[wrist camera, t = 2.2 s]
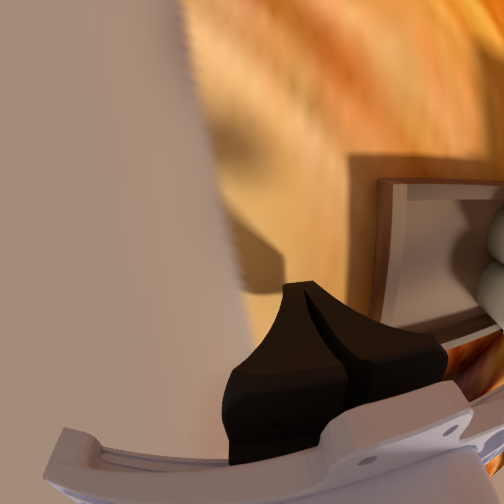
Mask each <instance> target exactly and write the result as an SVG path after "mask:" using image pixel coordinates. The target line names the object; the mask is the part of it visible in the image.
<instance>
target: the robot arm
mask: <svg viewBox="0 0 504 504" xmlns="http://www.w3.org/2000/svg"><path fill="white" fill-rule="evenodd" d="M282 287H283V298H282V302H281V305H280V309H279V311H278V314H277V316H276V319H275V321H274V323H273V325H272V327H271V329H270V330H269V332H268V334H267V335H266V337H265V338H264V340H263V341H262V342H261V344H260V345H259V346H258V347H257V348H256V349H255V350H254V352H253V353H252V354H251V355H250V356H249V357H248V358H247V359H246V360H245V361H243V362H242V363H241V364H240V365H238V366H237V367H236V368H234V369H233V371H232V372H231V375H230V377H229V380H228V383H227V385H226V389H225V392H224V396H223V402H222V422H223V425H224V428H225V431H226V433H227V437H228V440H229V459H195V458H179V457H167V456H158V455H149V454H141V453H135V452H128V451H123V450H118V449H113V448H108V447H103V446H102V445H101V444H100V442H99V441H98V440H97V439H96V438H95V437H94V436H92V435H90V434H88V433H86V432H82V431H78V430H74V429H70V428H65V427H64V428H63V430H62V432H61V434H60V436H59V439H58V441H57V443H56V445H55V448H54V450H53V452H52V455H51V457H50V459H49V462H48V465H47V467H46V469H45V472H44V475H43V479H44V480H45V481H46V482H48V483H49V484H50V485H52V486H53V487H55V488H56V489H57V490H59V491H60V492H61V493H63V494H64V495H66V496H67V497H69V498H70V499H72V500H73V501H75V502H76V503H78V504H501V502H500V500H499V498H498V495H497V493H496V491H495V488H494V486H493V484H492V482H491V480H490V477H489V475H488V473H487V471H486V469H485V467H484V465H485V464H487V463H488V462H490V461H491V460H492V459H494V458H495V457H496V456H498V455H499V454H500V453H502V452H503V451H504V384H503V385H501V386H499V387H498V388H496V389H494V390H492V391H491V392H489V393H487V394H485V395H483V396H481V397H479V398H478V399H476V400H474V401H472V402H470V403H468V401H467V400H466V398H465V396H464V395H463V393H462V392H461V390H460V389H459V387H458V386H457V385H456V384H455V383H454V382H453V381H444V382H441V380H442V377H443V375H444V373H445V371H446V368H447V364H448V355H447V352H446V351H445V349H444V348H443V347H442V345H441V344H440V343H439V342H438V340H437V339H436V338H435V337H434V336H433V335H428V334H421V333H415V332H410V331H405V330H402V329H398V328H394V327H391V326H388V325H385V324H382V323H380V322H377V321H375V320H372V319H370V318H368V317H366V316H364V315H362V314H360V313H358V312H356V311H354V310H353V309H351V308H349V307H348V306H346V305H345V304H343V303H342V302H340V301H339V300H337V299H336V298H334V297H333V296H332V295H330V294H329V293H328V292H326V291H325V290H324V289H323V288H321V287H320V286H319V285H318V284H316V283H315V282H314V281H305V282H296V283H286V284H284V285H283V286H282Z"/></svg>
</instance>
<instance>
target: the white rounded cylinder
mask: <svg viewBox="0 0 504 504" xmlns="http://www.w3.org/2000/svg"><path fill="white" fill-rule="evenodd" d="M476 302H477V304H478V305H479V306H480V307H481V308H482V309H483V310H484V311H485V312H486V313H487V314H488V315H489V316H490V317H491V318H492V319H493V320H494V321H495V322H496V323H497V324H498V325H499V326H500V327H501V328H502V329H503V330H504V265H503V264H502V263H500V262H499V261H497V260H495V261H493V262H492V263H491V264H490V265H489V266H488V267H487V268H486V270H485V271H484V273H483V274H482V276H481V278H480V280H479V283H478V285H477V289H476Z"/></svg>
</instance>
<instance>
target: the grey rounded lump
mask: <svg viewBox="0 0 504 504" xmlns="http://www.w3.org/2000/svg"><path fill="white" fill-rule="evenodd" d="M488 250H489V253H490V255H491V256H492V257H493V258H494V259H496V260H497V261H499V262H500V263H502V264H503V265H504V206H502V207H501V208H500V209H499V210H498V211H497V213H496V214H495V216H494V218H493V220H492V223H491V226H490V229H489V234H488Z"/></svg>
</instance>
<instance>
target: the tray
mask: <svg viewBox="0 0 504 504" xmlns="http://www.w3.org/2000/svg"><path fill="white" fill-rule="evenodd" d="M502 206H504V182H499V181H485V180H466V179H435V178H382V179H377V227H376V246H375V260H374V272H373V282H372V291H371V300H370V307H369V315H368V318H370V319H372V320H375V321H377V322H380V323H382V324H385V325H388V326H391V327H394V328H398V329H402V330H405V331H410V332H415V333H421V334H428V335H433V336H434V337H435V338H436V339H437V340H438V342H439V343H440V344H441V345H442V347H443V348H444V349H445V350H448V349H451V348H454V347H456V346H459V345H462V344H465V343H467V342H470V341H473V340H475V339H478V338H480V337H483V336H485V335H488V334H490V333H493V332H495V331H497V330H499V329H502V328H501V327H500V326H499V325H498V324H497V323H496V322H495V321H494V320H493V319H492V318H491V317H490V316H489V315H488V314H487V313H486V312H485V311H484V310H483V309H482V308H481V307H480V306H479V305H478V304H477V302H476V289H477V285H478V283H479V280H480V278H481V276H482V274H483V273H484V271H485V270H486V268H487V267H488V266H489V265H490V264H491V263H492V262H493V261H495V260H496V259H494V258H493V257H492V256H491V255H490V253H489V250H488V234H489V229H490V226H491V223H492V220H493V218H494V216H495V214H496V213H497V211H498V210H499V209H500V208H501V207H502Z"/></svg>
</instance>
